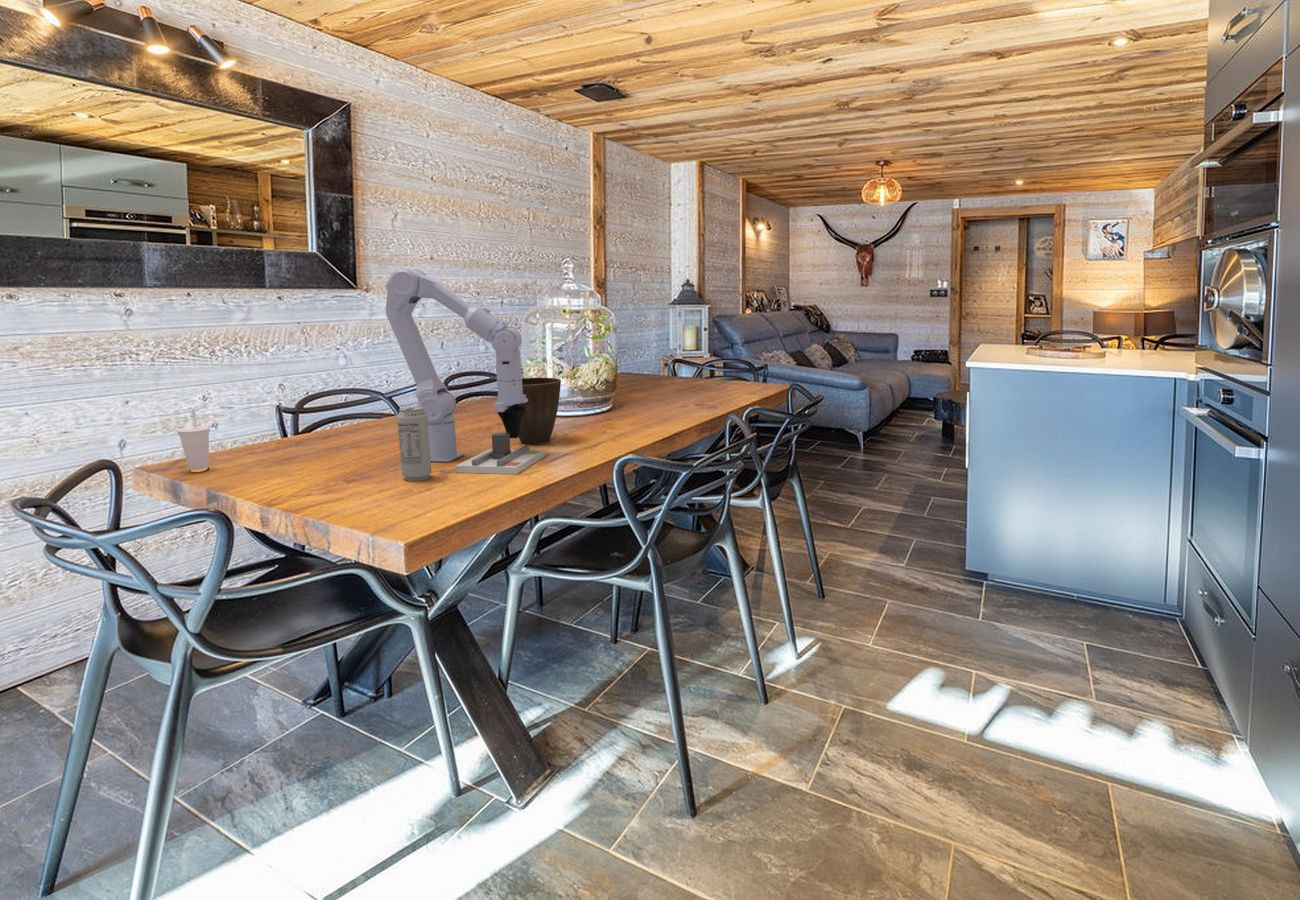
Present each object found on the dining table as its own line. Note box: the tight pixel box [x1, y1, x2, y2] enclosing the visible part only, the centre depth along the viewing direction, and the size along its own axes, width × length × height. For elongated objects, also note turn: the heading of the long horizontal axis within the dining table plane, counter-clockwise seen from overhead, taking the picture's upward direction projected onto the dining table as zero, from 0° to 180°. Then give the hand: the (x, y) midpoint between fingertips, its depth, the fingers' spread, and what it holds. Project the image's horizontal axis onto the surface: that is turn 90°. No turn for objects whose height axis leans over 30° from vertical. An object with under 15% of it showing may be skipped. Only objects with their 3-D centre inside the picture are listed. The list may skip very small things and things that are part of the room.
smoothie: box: [176, 409, 211, 469], centre depth 172 cm, size 6×6×14 cm
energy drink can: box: [396, 406, 432, 482], centre depth 161 cm, size 6×6×15 cm
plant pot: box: [518, 377, 562, 446], centre depth 197 cm, size 15×15×16 cm
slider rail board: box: [455, 444, 546, 475], centre depth 174 cm, size 14×18×3 cm
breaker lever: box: [491, 432, 511, 459], centre depth 173 cm, size 3×4×5 cm
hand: (513, 437), depth 180 cm, fingers closed
